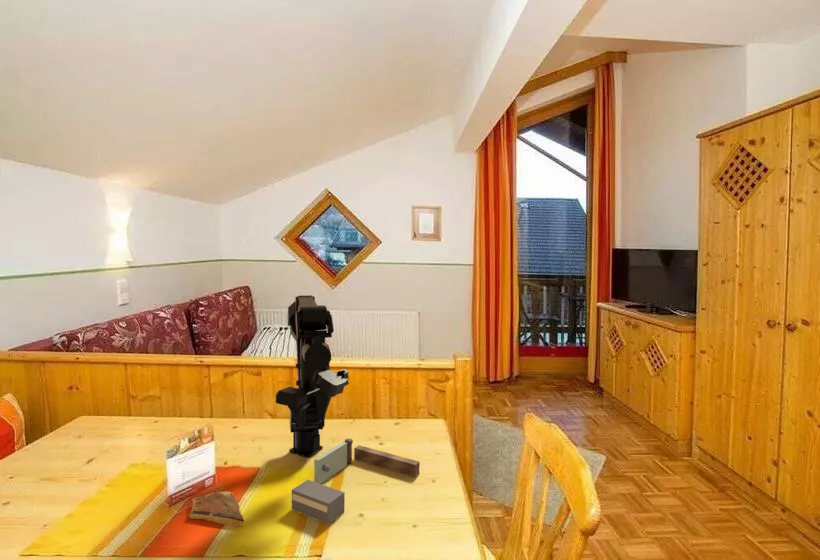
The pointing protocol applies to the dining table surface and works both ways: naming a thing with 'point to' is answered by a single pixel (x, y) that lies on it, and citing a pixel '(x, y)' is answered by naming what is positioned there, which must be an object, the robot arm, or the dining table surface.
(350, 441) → the hinge post
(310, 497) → the grey block
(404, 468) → the bar
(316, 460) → the door
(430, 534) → the dining table surface
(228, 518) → the shard
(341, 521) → the dining table surface
